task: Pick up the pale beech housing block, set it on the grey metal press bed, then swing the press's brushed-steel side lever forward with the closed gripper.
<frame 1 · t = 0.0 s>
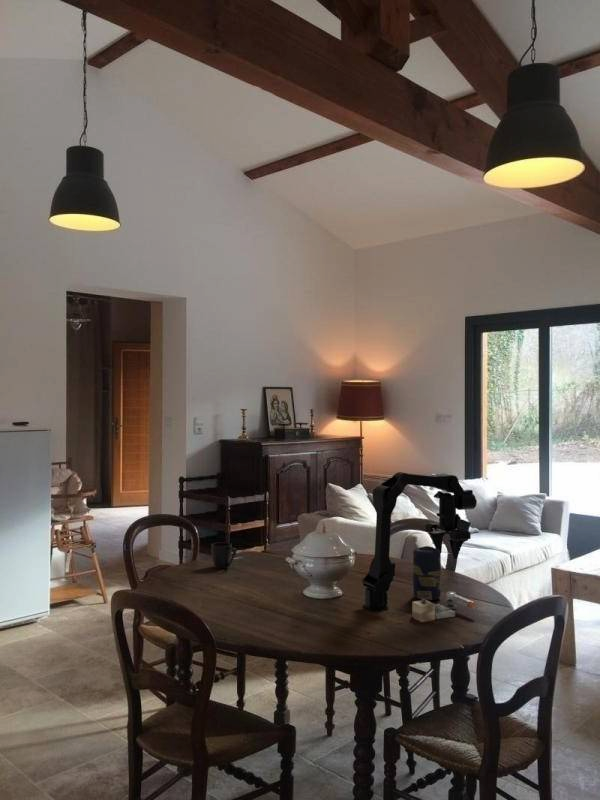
hand: (447, 555, 242), 15 cm above the table, fingers open, 9 cm apart
canister: (426, 598, 242), on the table
housing block: (423, 618, 219), on the table
press post: (450, 607, 231), on the table
lever: (460, 600, 226), point 4 cm above the table, hinge at 0.0°
press bed: (437, 613, 224), on the table
mug: (224, 568, 285), on the table
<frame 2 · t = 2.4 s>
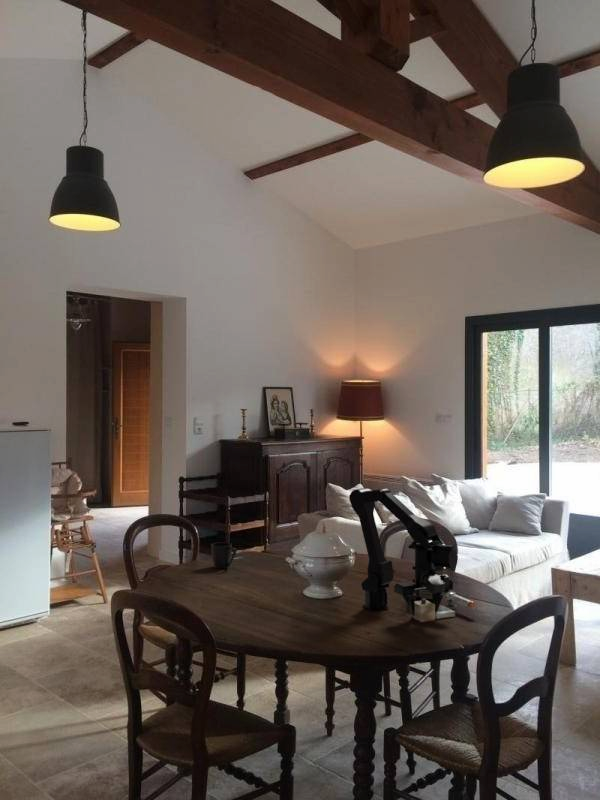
hand: (424, 613, 219), 1 cm above the table, fingers open, 8 cm apart
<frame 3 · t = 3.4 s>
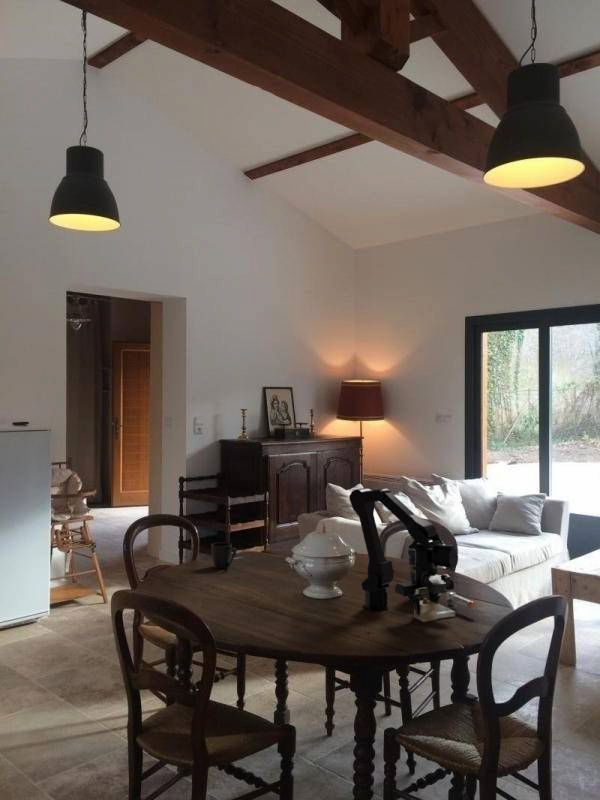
hand: (425, 613, 219), 1 cm above the table, fingers closed on housing block, 5 cm apart
housing block: (425, 618, 219), on the table, touching gripper
when the fingers open (3 cm above the table, at t = 6.1 s): housing block stays where it is, resting on press bed.
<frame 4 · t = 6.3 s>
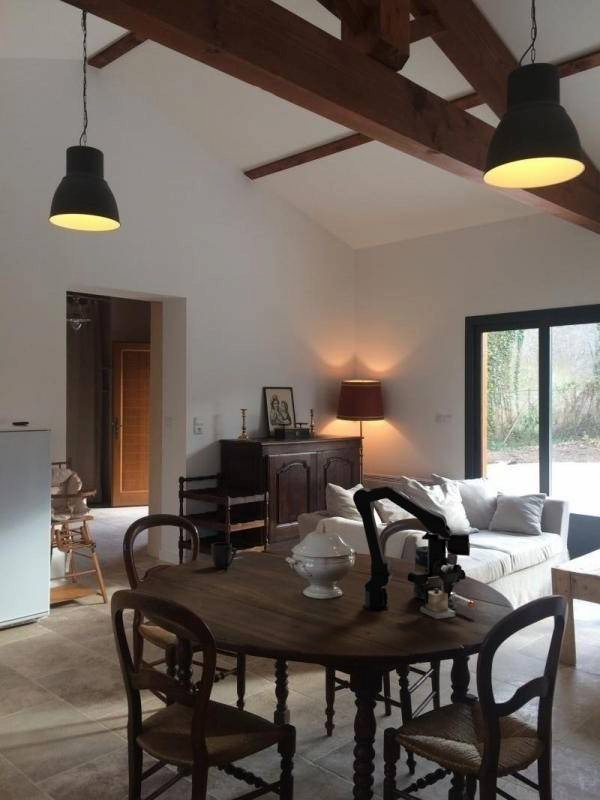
hand: (436, 602, 225), 3 cm above the table, fingers open, 7 cm apart
housing block: (436, 608, 225), point 2 cm above the table, touching press bed
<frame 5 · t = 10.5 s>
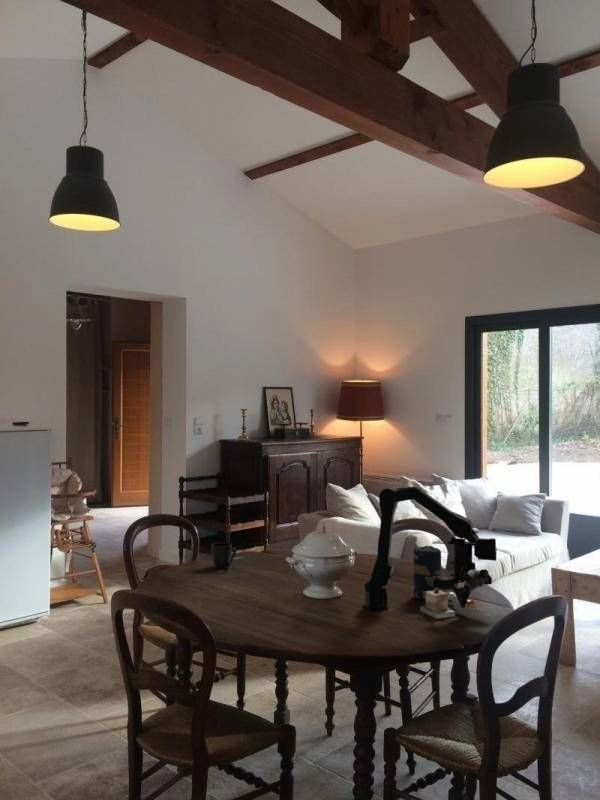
hand: (462, 607, 222), 3 cm above the table, fingers closed
lever: (460, 600, 226), point 4 cm above the table, hinge at 0.0°, touching gripper
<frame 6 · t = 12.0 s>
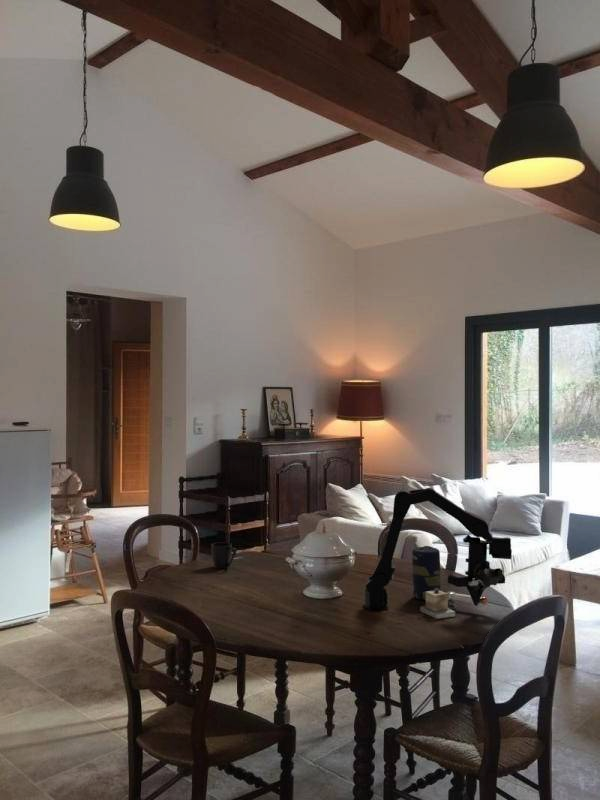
hand: (475, 605, 225), 3 cm above the table, fingers closed
lever: (466, 598, 228), point 4 cm above the table, hinge at 35.8°, touching gripper
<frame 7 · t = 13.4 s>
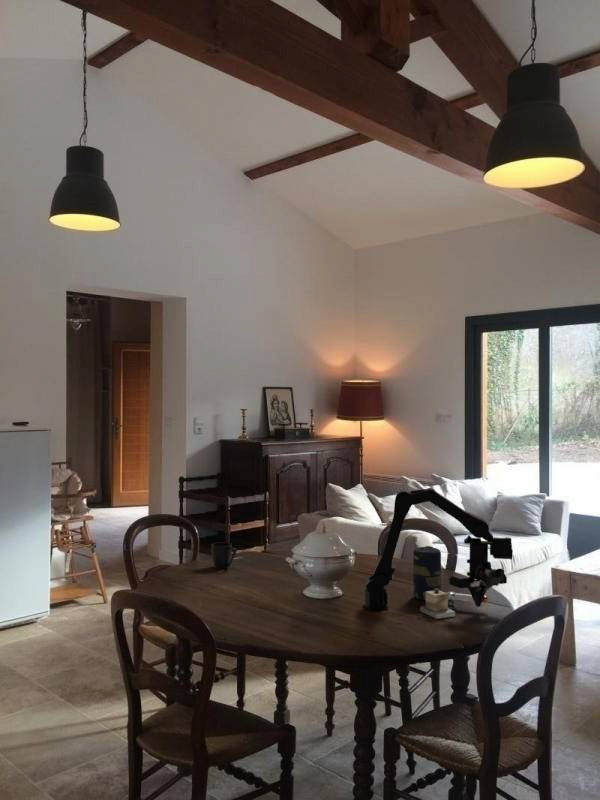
hand: (478, 606, 225), 2 cm above the table, fingers closed
lever: (467, 597, 229), point 4 cm above the table, hinge at 44.0°
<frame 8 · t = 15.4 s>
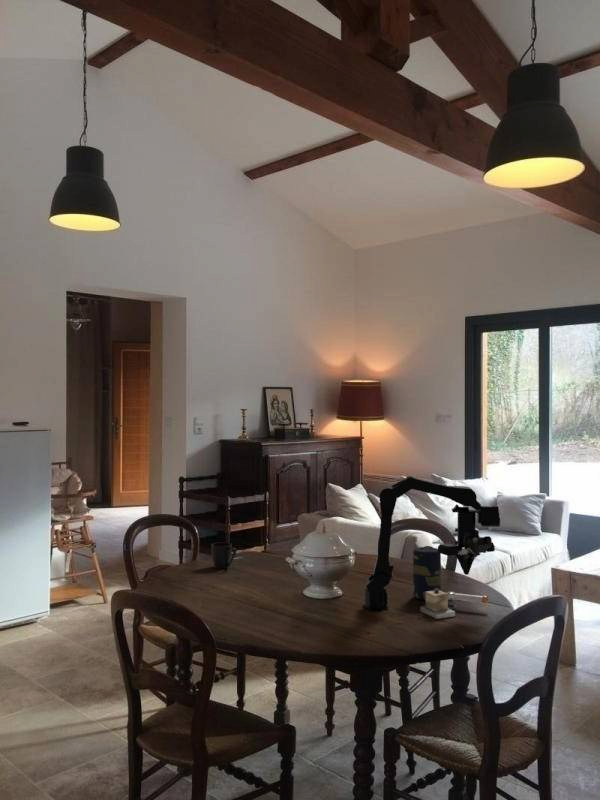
hand: (466, 574, 227), 12 cm above the table, fingers closed
at the end: housing block inside the target area on the press bed (0.6 cm from its centre), point 1.6 cm above the press bed's base; housing block tilted 0°; lever at +44° (first picture: +0°) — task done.
